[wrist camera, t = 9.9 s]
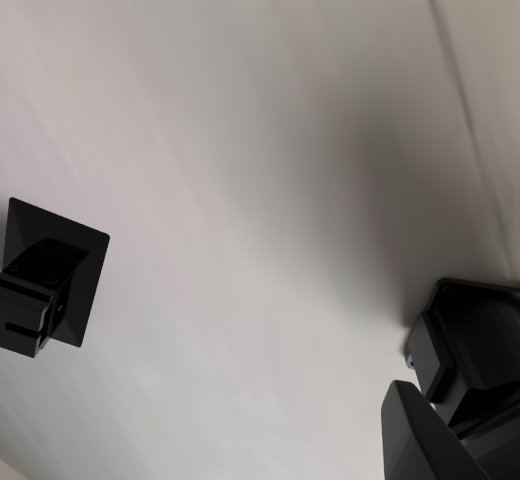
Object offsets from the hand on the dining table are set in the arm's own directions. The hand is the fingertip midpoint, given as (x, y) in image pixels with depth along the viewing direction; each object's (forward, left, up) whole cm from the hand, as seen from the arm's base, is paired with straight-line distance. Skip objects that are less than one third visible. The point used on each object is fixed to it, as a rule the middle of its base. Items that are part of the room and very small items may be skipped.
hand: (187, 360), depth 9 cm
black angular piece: (+11, +9, -14) cm, 20 cm away
